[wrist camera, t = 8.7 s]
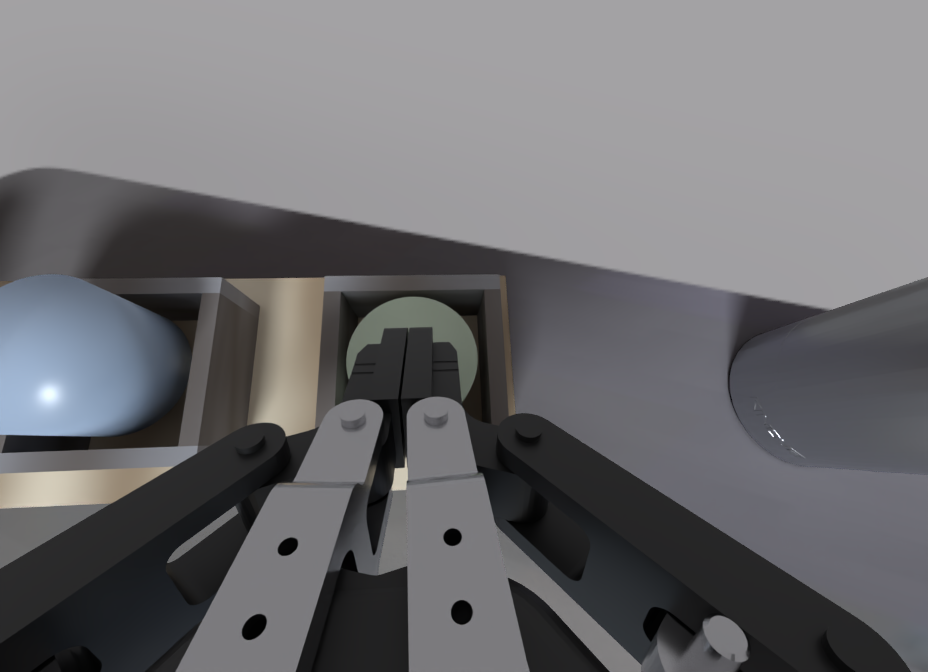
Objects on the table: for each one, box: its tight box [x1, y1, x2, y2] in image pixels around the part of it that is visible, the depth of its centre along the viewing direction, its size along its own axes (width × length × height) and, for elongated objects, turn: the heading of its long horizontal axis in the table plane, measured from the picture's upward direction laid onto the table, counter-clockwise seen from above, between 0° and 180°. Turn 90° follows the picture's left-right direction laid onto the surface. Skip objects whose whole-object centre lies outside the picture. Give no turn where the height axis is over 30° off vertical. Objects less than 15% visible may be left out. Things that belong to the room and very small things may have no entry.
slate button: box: [0, 274, 192, 437], centre depth 12 cm, size 4×4×3 cm
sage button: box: [346, 297, 478, 403], centre depth 14 cm, size 4×4×3 cm
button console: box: [0, 274, 515, 508], centre depth 18 cm, size 28×9×12 cm, turn 92°
